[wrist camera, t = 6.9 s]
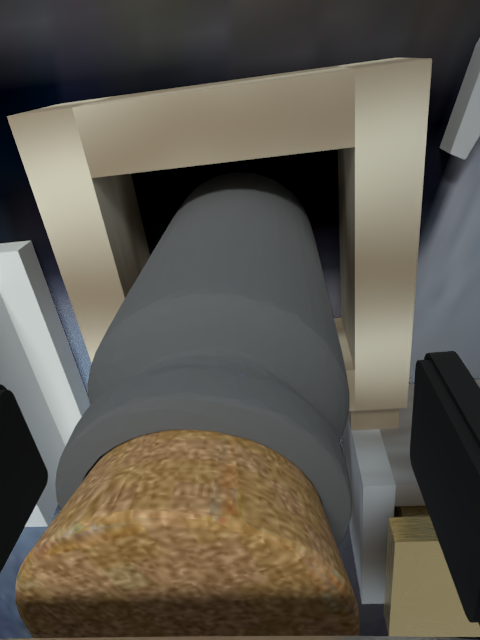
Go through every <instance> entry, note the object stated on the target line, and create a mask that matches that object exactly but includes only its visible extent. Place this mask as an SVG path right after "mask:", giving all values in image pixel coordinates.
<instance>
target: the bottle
mask: <svg viewBox="0 0 480 640" xmlns="http://www.w3.org/2000/svg"><path fill="white" fill-rule="evenodd" d="M88 397H89V402H90V406H89V407H88V409H87V410H86V411H85V412H84V414H83V416H82V417H81V419H80V420H79V422H78V423H77V425H76V426H75V428H74V430H73V432H72V434H71V436H70V438H69V440H68V442H67V444H66V446H65V448H64V451H63V453H62V455H61V457H60V460H59V464H58V468H57V472H56V483H55V487H56V497H57V502H58V505H59V507H60V510H61V511H60V512H59V514H58V515H57V516H56V518H55V519H54V520H53V522H52V523H51V524H50V526H49V527H48V528H47V530H46V531H45V532H44V534H43V535H42V536H41V538H40V539H39V540H38V542H37V543H36V544H35V546H34V547H33V548H32V550H31V551H30V552H29V554H28V555H27V556H26V558H25V560H24V562H23V563H22V565H21V567H20V570H19V573H18V575H17V580H16V587H15V596H16V605H17V608H18V611H19V615H20V617H21V619H22V621H23V622H24V624H25V626H26V627H27V629H28V630H29V632H30V633H31V635H32V636H33V637H34V638H106V637H203V636H358V634H359V626H360V616H359V610H358V604H357V600H356V597H355V594H354V591H353V589H352V586H351V583H350V580H349V578H348V575H347V572H346V570H345V567H344V564H343V561H342V559H341V556H340V553H339V550H338V547H339V546H340V544H341V542H342V540H343V539H344V537H345V535H346V532H347V529H348V526H349V523H350V519H351V516H352V494H351V486H350V480H349V475H348V469H347V464H346V459H345V457H344V454H343V451H342V448H341V445H340V442H339V441H340V439H341V437H342V435H343V432H344V429H345V426H346V424H347V420H348V414H349V387H348V380H347V374H346V369H345V364H344V359H343V354H342V350H341V346H340V341H339V337H338V333H337V329H336V325H335V321H334V316H333V312H332V308H331V304H330V300H329V296H328V291H327V287H326V283H325V279H324V275H323V271H322V266H321V262H320V258H319V254H318V250H317V246H316V242H315V238H314V235H313V231H312V227H311V224H310V221H309V218H308V216H307V213H306V212H305V210H304V208H303V206H302V204H301V203H300V202H299V200H298V199H297V197H296V196H295V195H294V194H293V193H292V192H291V191H289V190H288V189H287V188H286V187H285V186H284V185H282V184H280V183H279V182H277V181H275V180H273V179H271V178H269V177H266V176H263V175H260V174H255V173H247V172H235V173H227V174H223V175H219V176H217V177H214V178H212V179H210V180H208V181H206V182H204V183H203V184H201V185H199V186H198V187H197V188H196V189H195V190H194V191H193V192H192V193H191V194H190V195H189V196H188V197H187V198H186V200H185V201H184V202H183V204H182V205H181V207H180V208H179V209H178V211H177V212H176V214H175V215H174V217H173V219H172V220H171V222H170V224H169V225H168V227H167V229H166V231H165V232H164V234H163V236H162V237H161V239H160V241H159V242H158V244H157V246H156V247H155V249H154V251H153V252H152V254H151V256H150V257H149V259H148V261H147V262H146V264H145V266H144V267H143V269H142V271H141V272H140V274H139V276H138V278H137V279H136V281H135V283H134V284H133V286H132V288H131V289H130V291H129V293H128V294H127V296H126V298H125V299H124V301H123V303H122V305H121V306H120V308H119V310H118V312H117V313H116V315H115V317H114V319H113V321H112V322H111V324H110V326H109V328H108V329H107V331H106V333H105V335H104V337H103V339H102V341H101V343H100V345H99V347H98V348H97V350H96V353H95V356H94V358H93V361H92V364H91V369H90V375H89V380H88Z"/></svg>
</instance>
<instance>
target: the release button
mask: <svg viewBox="0 0 480 640" xmlns="http://www.w3.org/2000/svg"><path fill="white" fill-rule="evenodd" d="M384 617H385V622H386V626H387V631H388V636H399V637H480V626H479V623H478V622H477V623H470V622H469V621H468V619H467V617H466V615H465V612H464V610H463V607H462V604H461V601H460V599H459V596H458V593H457V590H456V588H455V585H454V582H453V579H452V577H451V574H450V571H449V568H448V566H447V563H446V560H445V557H444V555H443V552H442V549H441V546H440V544H439V541H438V538H437V535H436V533H435V530H434V527H433V524H432V522H431V519H430V516H429V513H428V510H427V508H426V505H418V506H394V517H392V518H389V524H388V542H387V560H386V578H385V596H384Z"/></svg>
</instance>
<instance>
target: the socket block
mask: <svg viewBox="0 0 480 640" xmlns="http://www.w3.org/2000/svg"><path fill="white" fill-rule="evenodd" d="M431 68H432V59H428V58H390V59H382V60H375V61H368V62H361V63H353V64H346V65H339V66H331V67H324V68H317V69H310V70H302V71H295V72H288V73H281V74H273V75H266V76H259V77H251V78H244V79H237V80H230V81H222V82H215V83H208V84H201V85H193V86H186V87H179V88H171V89H164V90H157V91H150V92H142V93H135V94H128V95H121V96H113V97H106V98H99V99H91V100H84V101H77V102H70V103H62V104H57V105H53V106H49V107H45V108H41V109H36V110H32V111H28V112H24V113H20V114H15V115H11V116H7V118H8V121H9V124H10V127H11V130H12V133H13V136H14V139H15V141H16V144H17V147H18V150H19V153H20V156H21V159H22V162H23V165H24V168H25V170H26V173H27V176H28V179H29V182H30V185H31V188H32V191H33V194H34V197H35V200H36V202H37V205H38V208H39V211H40V214H41V217H42V220H43V223H44V226H45V229H46V231H47V234H48V237H49V240H50V243H51V246H52V249H53V252H54V255H55V258H56V260H57V263H58V266H59V269H60V272H61V275H62V278H63V281H64V284H65V287H66V290H67V292H68V295H69V298H70V301H71V304H72V307H73V310H74V313H75V316H76V319H77V321H78V324H79V327H80V330H81V333H82V336H83V339H84V342H85V345H86V348H87V350H88V353H89V356H90V359H91V362H92V361H93V358H94V356H95V353H96V350H97V348H98V347H99V345H100V343H101V341H102V339H103V337H104V335H105V333H106V331H107V329H108V328H109V326H110V324H111V322H112V321H113V319H114V317H115V315H116V313H117V312H118V310H119V308H120V306H121V305H122V303H123V301H124V299H125V298H126V296H127V294H128V293H129V291H130V289H131V288H132V286H133V284H134V283H135V281H136V279H137V278H138V276H139V274H140V272H141V271H142V269H143V267H144V266H145V264H146V262H147V261H148V259H149V257H150V252H149V248H148V244H147V239H146V235H145V231H144V227H143V222H142V218H141V214H140V210H139V205H138V201H137V197H136V193H135V188H134V184H133V180H132V176H131V173H139V172H148V171H156V170H165V169H173V168H182V167H190V166H199V165H207V164H216V163H224V162H233V161H241V160H249V159H258V158H266V157H275V156H283V155H292V154H300V153H309V152H317V151H326V150H334V149H338V187H339V244H340V301H341V317H340V318H334V321H335V325H336V329H337V333H338V337H339V341H340V346H341V350H342V354H343V359H344V364H345V369H346V374H347V380H348V387H349V414H348V420H347V424H346V426H345V429H344V432H343V454H344V457H345V459H346V464H347V469H348V475H349V480H350V486H351V494H352V516H351V519H350V523H349V530H350V536H351V542H352V548H353V554H354V560H355V566H356V572H357V578H358V584H359V590H360V596H361V602H362V604H384V596H385V578H386V560H387V542H388V524H389V518H392V517H394V506H418V505H425V502H424V499H423V497H422V494H421V491H420V488H419V486H418V483H417V480H416V477H415V475H414V472H413V469H412V466H411V461H410V440H411V426H412V412H413V398H414V383H409V373H410V359H411V345H412V331H413V317H414V303H415V289H416V276H417V262H418V248H419V234H420V220H421V206H422V192H423V179H424V165H425V151H426V137H427V123H428V109H429V95H430V82H431ZM474 380H475V381H476V383H477V384H478V386H479V387H480V379H474Z"/></svg>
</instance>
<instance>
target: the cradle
mask: <svg viewBox="0 0 480 640" xmlns="http://www.w3.org/2000/svg"><path fill="white" fill-rule="evenodd" d="M0 384H1V385H3V386H5V387H6V389H7V390H10V391H12V392H13V394H14V396H15V398H16V401H17V403H18V405H19V407H20V410H21V412H22V414H23V416H24V419H25V421H26V423H27V425H28V428H29V430H30V432H31V434H32V437H33V439H34V441H35V443H36V446H37V448H38V450H39V452H40V455H41V457H42V459H43V461H44V464H45V466H46V468H47V471H48V481H47V485H46V487H45V489H44V491H43V493H42V495H41V497H40V499H39V500H38V502H37V504H36V506H35V508H34V510H33V512H32V514H31V516H30V517H29V519H28V521H27V523H26V525H25V527H40V526H48V525H49V523H50V521H51V519H52V516H53V514H54V512H55V510H56V508H57V506H58V502H57V497H56V487H55V483H56V472H57V468H58V464H59V460H60V457H61V455H62V453H63V451H64V448H65V446H66V444H67V442H68V440H69V438H70V436H71V434H72V432H73V430H74V428H75V426H76V425H77V423H78V422H79V420H80V419H81V417H82V416H83V414H84V412H85V411H86V410H87V409H88V407H89V406H90V402H89V398H88V395H87V392H86V390H85V387H84V384H83V381H82V379H81V376H80V373H79V370H78V368H77V365H76V362H75V359H74V357H73V354H72V351H71V348H70V346H69V343H68V340H67V338H66V335H65V332H64V329H63V327H62V324H61V321H60V318H59V316H58V313H57V310H56V307H55V305H54V302H53V299H52V296H51V294H50V291H49V288H48V286H47V283H46V280H45V277H44V275H43V272H42V269H41V266H40V264H39V261H38V258H37V255H36V253H35V250H34V247H33V244H32V242H31V241H21V242H12V243H2V244H0Z"/></svg>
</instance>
